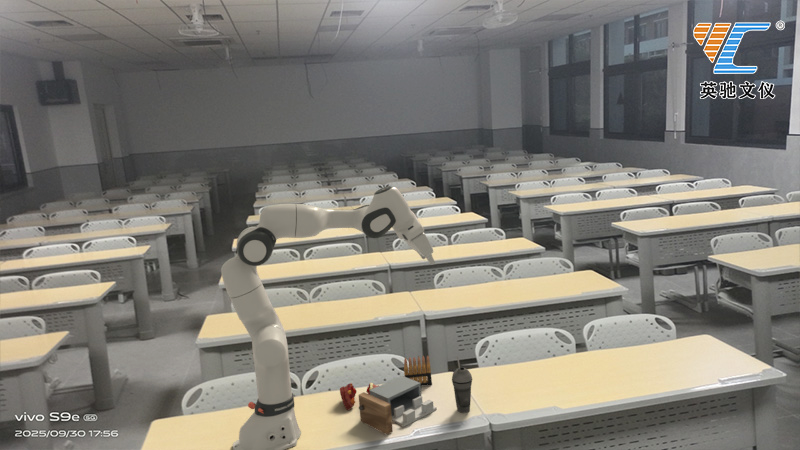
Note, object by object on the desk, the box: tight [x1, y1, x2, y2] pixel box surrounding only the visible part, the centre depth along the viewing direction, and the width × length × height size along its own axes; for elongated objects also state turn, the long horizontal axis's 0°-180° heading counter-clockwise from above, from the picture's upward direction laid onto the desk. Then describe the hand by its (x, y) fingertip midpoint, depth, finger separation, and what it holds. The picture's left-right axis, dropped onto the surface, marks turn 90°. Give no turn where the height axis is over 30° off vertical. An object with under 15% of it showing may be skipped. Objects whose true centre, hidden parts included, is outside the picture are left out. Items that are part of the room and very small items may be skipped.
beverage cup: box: [451, 355, 473, 414], centre depth 208 cm, size 7×7×20 cm
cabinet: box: [369, 375, 437, 427], centre depth 212 cm, size 16×18×8 cm
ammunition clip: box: [403, 355, 433, 387], centre depth 232 cm, size 11×2×12 cm, turn 96°
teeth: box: [339, 382, 380, 411], centre depth 220 cm, size 10×8×15 cm
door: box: [358, 392, 394, 435], centre depth 201 cm, size 4×14×10 cm, turn 43°
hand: (428, 260), depth 204 cm, fingers open, 8 cm apart
